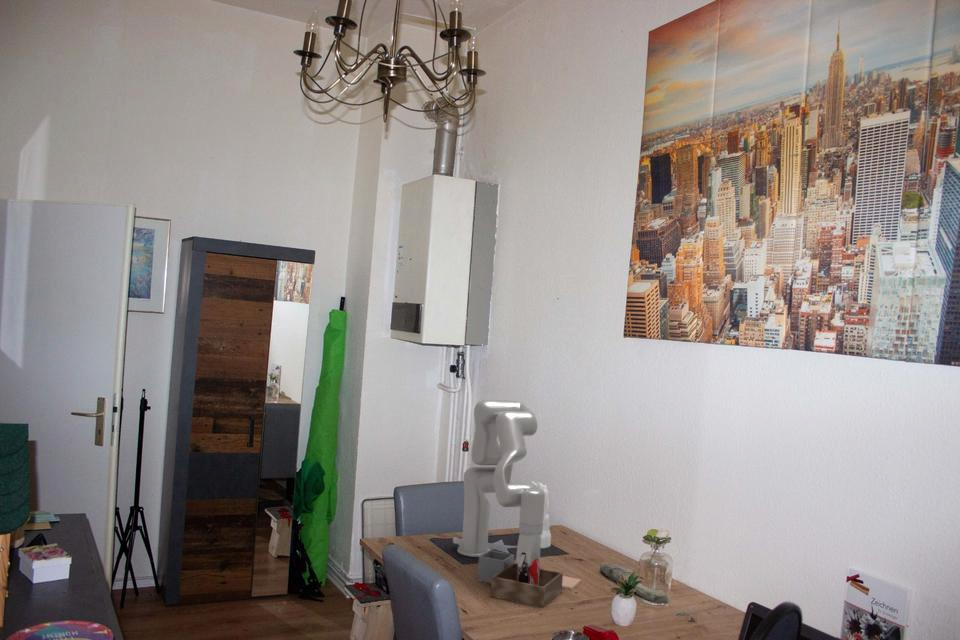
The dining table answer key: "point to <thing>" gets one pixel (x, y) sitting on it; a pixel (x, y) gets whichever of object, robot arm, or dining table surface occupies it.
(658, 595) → the long grey stone
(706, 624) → the dining table surface
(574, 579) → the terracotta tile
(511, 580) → the walnut crate
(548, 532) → the decorative vase
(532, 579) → the soda can
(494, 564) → the charcoal crate
